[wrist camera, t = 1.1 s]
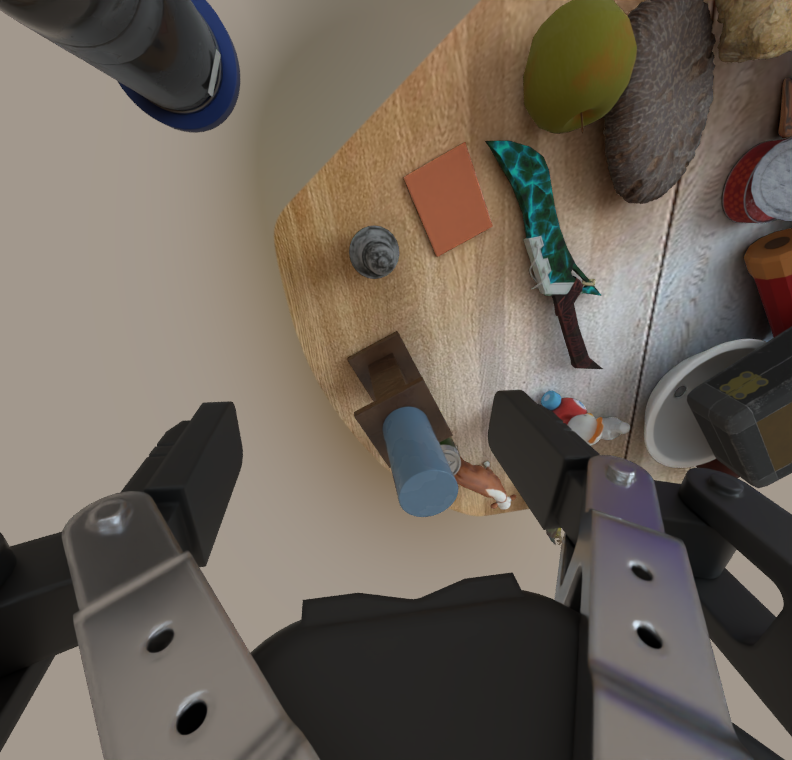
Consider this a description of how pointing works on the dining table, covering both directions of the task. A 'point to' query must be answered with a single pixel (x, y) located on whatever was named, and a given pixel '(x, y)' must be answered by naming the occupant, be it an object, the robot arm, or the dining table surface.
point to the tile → (449, 199)
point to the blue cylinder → (418, 463)
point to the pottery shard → (786, 110)
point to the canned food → (761, 184)
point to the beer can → (451, 454)
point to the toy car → (574, 416)
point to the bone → (613, 428)
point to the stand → (392, 389)
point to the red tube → (773, 277)
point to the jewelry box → (750, 412)
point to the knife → (546, 241)
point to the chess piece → (374, 252)
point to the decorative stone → (661, 99)
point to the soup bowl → (686, 406)
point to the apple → (578, 65)
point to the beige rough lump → (754, 29)
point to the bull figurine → (483, 483)
